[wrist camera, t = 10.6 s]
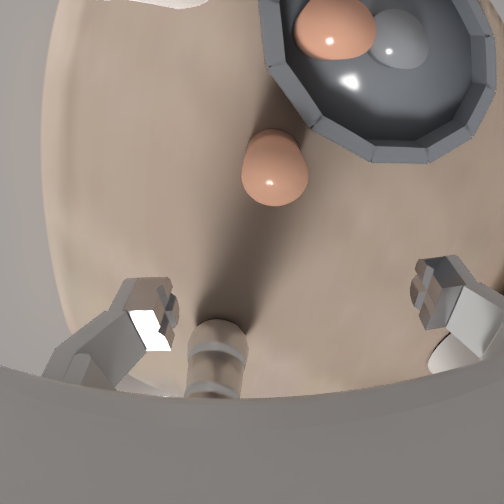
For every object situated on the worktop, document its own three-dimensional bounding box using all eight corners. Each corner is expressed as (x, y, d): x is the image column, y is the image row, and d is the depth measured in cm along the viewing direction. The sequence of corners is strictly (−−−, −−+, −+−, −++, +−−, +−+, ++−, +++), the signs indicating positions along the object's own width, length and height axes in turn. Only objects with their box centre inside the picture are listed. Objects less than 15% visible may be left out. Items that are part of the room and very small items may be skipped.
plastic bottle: (196, 348, 35) (173, 509, 18) (186, 310, 31) (148, 499, 14) (250, 349, 35) (245, 516, 18) (247, 310, 31) (240, 510, 14)
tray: (463, -28, 10) (482, -33, 8) (469, 156, 20) (488, 168, 18) (248, -62, 12) (247, -79, 9) (272, 154, 22) (274, 166, 19)
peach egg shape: (288, 8, 14) (298, -10, 10) (346, 10, 14) (372, -4, 10) (293, 61, 17) (305, 57, 13) (351, 62, 16) (378, 61, 12)
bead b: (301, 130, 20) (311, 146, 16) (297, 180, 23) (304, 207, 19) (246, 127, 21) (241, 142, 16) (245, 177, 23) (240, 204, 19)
